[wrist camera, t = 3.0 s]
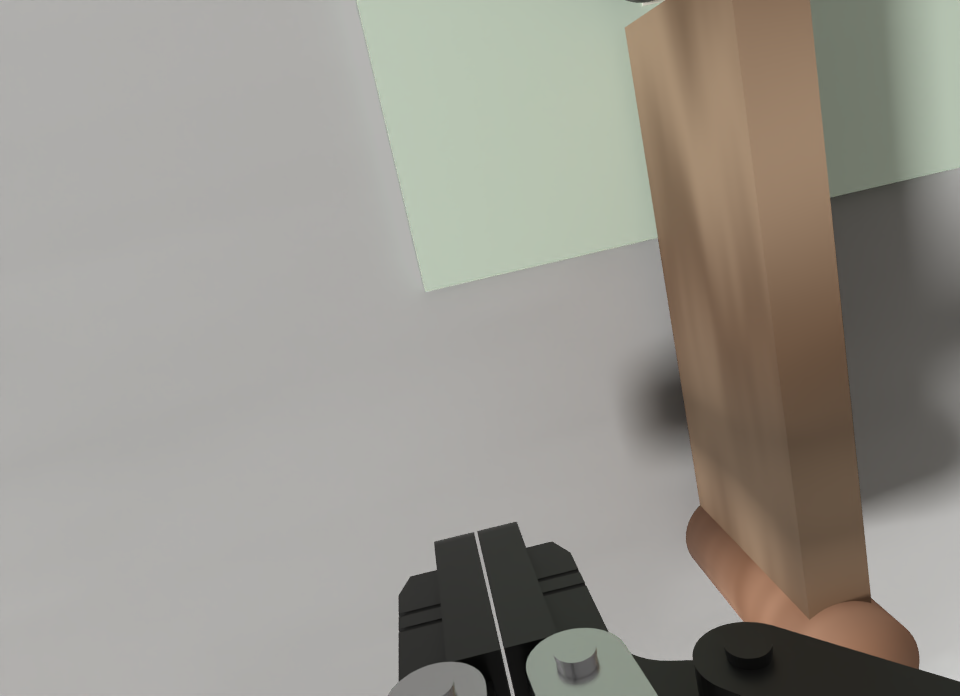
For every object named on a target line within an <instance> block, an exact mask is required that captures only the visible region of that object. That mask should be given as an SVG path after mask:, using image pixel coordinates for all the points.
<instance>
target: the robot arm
mask: <svg viewBox="0 0 960 696" xmlns="http://www.w3.org/2000/svg"><path fill="white" fill-rule="evenodd" d="M477 532H478V537H479V541H480V545H481V550H482V554H483V559H484V563H485V567H486V572H487V576H488V580H489V585H490V589H491V594H492V598H493V602H494V607H495V611H496V616H497V620H498V624H499V629H500V633H501V637H502V642H503V646H504V650H505V655H506V659H507V663H508V667H509V672H510V676H511V680H512V685H513V689H514V693H515V696H960V682H959V681H956V680H952V679H949V678H946V677H942V676H939V675H936V674H932V673H929V672H926V671H922V670H919V669H916V668H912V667H909V666H906V665H903V664H899V663H896V662H893V661H889V660H886V659H883V658H879V657H876V656H873V655H869V654H866V653H863V652H859V651H856V650H853V649H849V648H846V647H843V646H839V645H836V644H833V643H830V642H826V641H823V640H820V639H816V638H813V637H810V636H806V635H803V634H800V633H796V632H793V631H790V630H786V629H783V628H780V627H776V626H773V625H769V624H765V623H758V622H736V623H731V624H726V625H723V626H719V627H717V628H715V629H712V630H710V631H709V632H707V633H706V634H704V635H703V636H702V637H701V638H700V639H699V640H698V642H697V643H696V645H695V647H694V649H693V660H684V661H658V660H650V659H645V658H641V657H638V656H635V655H633V654H631V653H630V652H629V650H628V648H627V647H626V645H625V644H624V643H623V642H622V640H621V639H619V638H618V637H617V636H615V635H613V634H611V633H609V632H608V630H607V628H606V626H605V624H604V622H603V620H602V618H601V615H600V613H599V611H598V609H597V607H596V605H595V603H594V601H593V599H592V597H591V595H590V593H589V590H588V588H587V586H585V582H584V580H583V578H582V576H581V574H580V572H579V571H578V568H577V566H576V563H575V561H574V559H573V557H572V555H571V553H570V552H568V551H567V550H565V549H563V548H562V547H560V546H559V545H557V544H555V543H554V542H548V543H544V544H540V545H536V546H532V547H528V548H526V546H525V544H524V541H523V538H522V535H521V533H520V530H519V527H518V524H517V522H513V523H509V524H505V525H501V526H497V527H492V528H488V529H484V530H480V531H477ZM434 545H435V555H436V564H437V570H435V571H431V572H427V573H423V574H419V575H415V576H411V577H410V578H409V580H408V581H407V583H406V585H405V586H404V588H403V589H402V591H401V593H400V594H399V682H398V683H397V684H396V685H395V686H394V687H393V688H392V690H391V691H390V693H389V694H388V696H511V694H510V689H509V685H508V680H507V676H506V671H505V667H504V663H503V658H502V654H501V649H500V645H499V640H498V636H497V631H496V627H495V623H494V618H493V614H492V610H491V605H490V601H489V596H488V592H487V588H486V583H485V579H484V575H483V570H482V566H481V562H480V557H479V553H478V549H477V544H476V540H475V536H474V532H473V533H468V534H464V535H460V536H456V537H452V538H448V539H444V540H440V541H436V542H434Z"/></svg>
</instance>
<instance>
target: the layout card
mask: <svg viewBox="0 0 960 696" xmlns="http://www.w3.org/2000/svg"><path fill="white" fill-rule="evenodd" d="M663 1H665V0H654V1H650V2H645V3H635V2H630V1H626V0H356V2H357V6H358V10H359V14H360V18H361V23H362V27H363V31H364V35H365V40H366V44H367V48H368V52H369V56H370V61H371V65H372V69H373V73H374V78H375V82H376V86H377V90H378V94H379V99H380V103H381V107H382V111H383V116H384V120H385V124H386V128H387V132H388V137H389V141H390V145H391V149H392V154H393V158H394V162H395V166H396V170H397V175H398V179H399V183H400V187H401V192H402V196H403V200H404V204H405V208H406V213H407V217H408V221H409V225H410V230H411V234H412V238H413V242H414V246H415V251H416V255H417V259H418V263H419V268H420V272H421V276H422V280H423V284H424V289H425V292H428V291H432V290H436V289H441V288H445V287H449V286H453V285H458V284H462V283H466V282H471V281H475V280H479V279H484V278H488V277H492V276H496V275H501V274H505V273H509V272H514V271H518V270H522V269H526V268H531V267H535V266H539V265H544V264H548V263H552V262H556V261H561V260H565V259H569V258H574V257H578V256H582V255H587V254H591V253H595V252H599V251H604V250H608V249H612V248H617V247H621V246H625V245H629V244H634V243H638V242H642V241H647V240H651V239H655V238H658V235H657V229H656V223H655V216H654V210H653V204H652V197H651V191H650V185H649V178H648V172H647V166H646V159H645V153H644V147H643V140H642V134H641V128H640V121H639V115H638V109H637V103H636V96H635V90H634V84H633V77H632V71H631V65H630V58H629V52H628V46H627V39H626V33H625V27H626V26H628V25H629V24H631V23H632V22H634V21H635V20H637V19H638V18H640V17H641V16H643V15H644V14H645V13H647V12H648V11H650V10H651V9H653V8H654V7H656V6H657V5H659V4H660V3H662V2H663ZM810 6H811V16H812V26H813V36H814V45H815V55H816V65H817V75H818V85H819V94H820V104H821V114H822V124H823V134H824V143H825V153H826V163H827V173H828V183H829V192H830V198H831V197H835V196H840V195H844V194H848V193H853V192H857V191H861V190H866V189H870V188H874V187H878V186H883V185H887V184H891V183H896V182H900V181H904V180H908V179H913V178H917V177H921V176H926V175H930V174H934V173H939V172H943V171H947V170H951V169H956V168H960V0H810Z"/></svg>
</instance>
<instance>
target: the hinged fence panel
mask: <svg viewBox="0 0 960 696" xmlns="http://www.w3.org/2000/svg"><path fill="white" fill-rule="evenodd" d="M626 1H630V2H635V3H645V2H650V1H654V0H626ZM625 33H626V39H627V46H628V52H629V58H630V65H631V71H632V77H633V84H634V90H635V96H636V103H637V109H638V115H639V121H640V128H641V134H642V140H643V147H644V153H645V159H646V166H647V172H648V178H649V185H650V191H651V197H652V204H653V210H654V216H655V223H656V229H657V235H658V241H659V248H660V254H661V260H662V267H663V273H664V279H665V286H666V292H667V298H668V305H669V311H670V317H671V324H672V330H673V336H674V342H675V349H676V355H677V361H678V368H679V374H680V380H681V387H682V393H683V399H684V406H685V412H686V418H687V425H688V431H689V437H690V444H691V450H692V456H693V462H694V469H695V475H696V481H697V488H698V494H699V500H700V506H699V507H698V508H697V509H696V511H695V512H694V513H693V515H692V517H691V519H690V521H689V523H688V526H687V531H686V543H687V547H688V550H689V553H690V554H691V556H692V558H693V559H694V560H695V561H696V563H697V564H698V565H699V566H700V568H701V569H702V570H703V571H704V573H705V574H706V575H707V576H708V578H709V579H710V580H711V581H712V583H713V584H714V585H715V586H716V588H717V589H718V590H719V591H720V593H721V594H722V595H723V596H724V598H725V599H726V600H727V601H728V603H729V604H730V605H731V606H732V608H733V609H734V610H735V611H736V613H737V614H738V615H739V616H740V618H741V619H742V620H743V621H744V622H758V623H765V624H769V625H773V626H776V627H780V628H783V629H786V630H790V631H793V632H796V633H800V634H803V635H806V636H810V637H813V638H816V639H820V640H823V641H826V642H830V643H833V644H836V645H839V646H843V647H846V648H849V649H853V650H856V651H859V652H863V653H866V654H869V655H873V656H876V657H879V658H883V659H886V660H889V661H893V662H896V663H899V664H903V665H906V666H909V667H912V668H916V669H919V651H918V647H917V644H916V642H915V640H914V638H913V636H912V635H911V633H910V632H909V631H908V630H907V629H906V628H905V627H904V626H903V625H902V624H900V623H899V622H898V621H897V620H896V619H895V618H893V617H892V616H891V615H890V614H889V613H888V612H887V611H885V610H884V609H883V608H882V607H881V606H880V605H878V604H877V603H876V602H875V601H874V600H873V599H872V598H871V594H870V585H869V575H868V565H867V555H866V545H865V536H864V526H863V516H862V506H861V496H860V487H859V477H858V467H857V457H856V447H855V437H854V428H853V418H852V408H851V398H850V388H849V379H848V369H847V359H846V349H845V339H844V330H843V320H842V310H841V300H840V290H839V281H838V271H837V261H836V251H835V241H834V232H833V222H832V212H831V202H830V192H829V183H828V173H827V163H826V153H825V143H824V134H823V124H822V114H821V104H820V94H819V85H818V75H817V65H816V55H815V45H814V36H813V26H812V16H811V6H810V0H665V1H663V2H662V3H660V4H659V5H657V6H656V7H654V8H653V9H651V10H650V11H648V12H647V13H645V14H644V15H643V16H641V17H640V18H638V19H637V20H635V21H634V22H632V23H631V24H629V25H628V26H626V27H625Z"/></svg>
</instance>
